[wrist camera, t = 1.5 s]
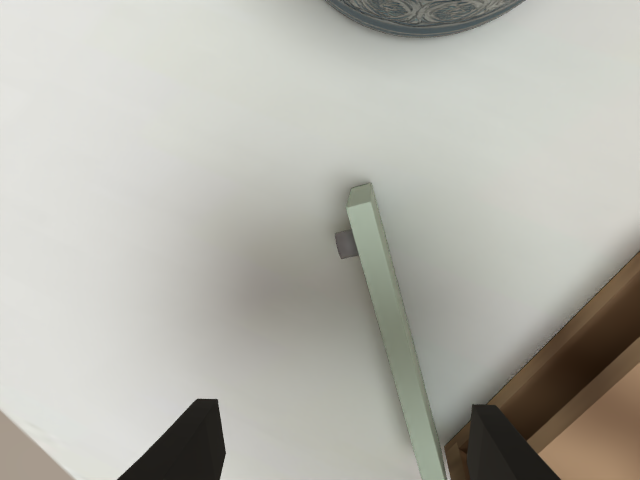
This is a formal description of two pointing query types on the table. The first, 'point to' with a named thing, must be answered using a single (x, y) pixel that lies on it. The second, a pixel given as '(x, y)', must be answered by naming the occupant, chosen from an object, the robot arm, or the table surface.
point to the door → (392, 325)
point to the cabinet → (579, 391)
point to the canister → (423, 15)
